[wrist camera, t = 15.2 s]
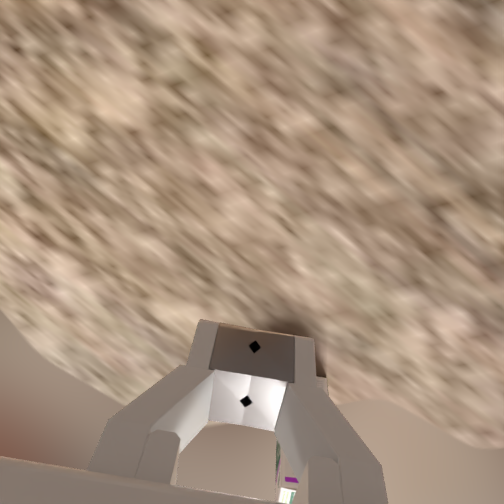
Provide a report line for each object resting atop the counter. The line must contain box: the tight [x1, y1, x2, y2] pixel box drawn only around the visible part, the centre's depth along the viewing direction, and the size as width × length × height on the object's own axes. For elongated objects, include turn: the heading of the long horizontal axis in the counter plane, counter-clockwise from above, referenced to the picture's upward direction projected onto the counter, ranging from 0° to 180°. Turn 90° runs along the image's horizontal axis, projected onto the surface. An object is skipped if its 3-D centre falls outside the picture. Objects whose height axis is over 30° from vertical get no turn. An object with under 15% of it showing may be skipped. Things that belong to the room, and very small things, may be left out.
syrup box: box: [275, 376, 329, 504], centre depth 49 cm, size 6×6×14 cm
